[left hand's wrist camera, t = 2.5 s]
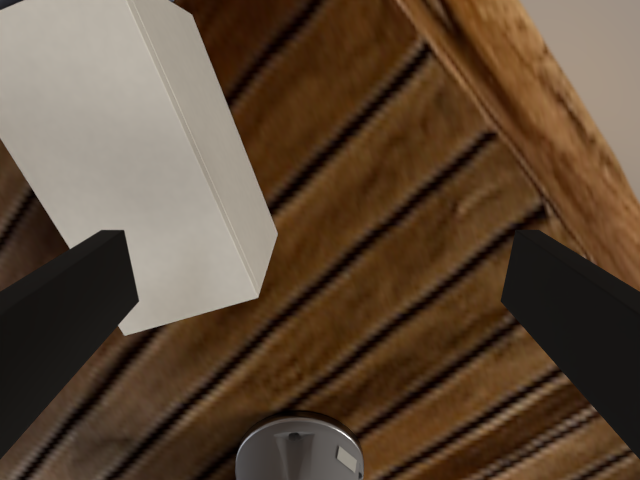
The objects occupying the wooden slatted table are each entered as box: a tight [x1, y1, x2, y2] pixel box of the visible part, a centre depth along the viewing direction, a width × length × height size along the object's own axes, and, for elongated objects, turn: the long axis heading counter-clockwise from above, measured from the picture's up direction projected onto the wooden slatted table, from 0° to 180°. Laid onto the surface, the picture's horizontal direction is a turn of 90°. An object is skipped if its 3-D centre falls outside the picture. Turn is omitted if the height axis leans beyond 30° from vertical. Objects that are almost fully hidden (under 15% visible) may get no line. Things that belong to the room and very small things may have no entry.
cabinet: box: [0, 0, 278, 336], centre depth 26 cm, size 18×10×11 cm, turn 18°
